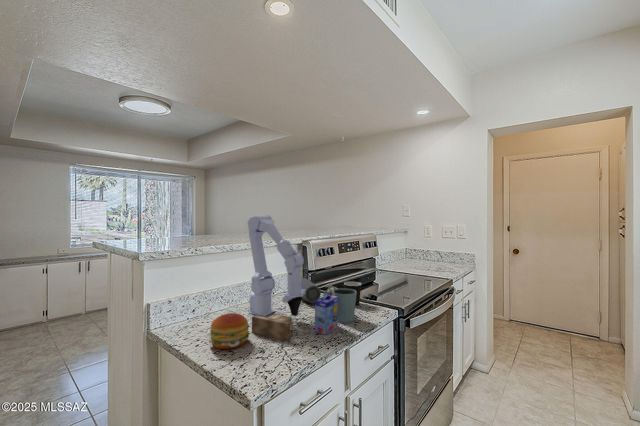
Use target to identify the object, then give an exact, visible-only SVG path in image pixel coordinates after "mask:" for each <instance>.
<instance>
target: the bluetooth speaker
mask: <svg viewBox="0 0 640 426" xmlns="http://www.w3.org/2000/svg"><path fill="white" fill-rule="evenodd" d="M301 289H305V294H304V295H303V296H302V298H303V300H302V301H305V302H306V303H307V302H308V303H315V301H316V300H317V299H319V298H321V295H322V293H321V289H320V288H319V286H318V285H316V284H315V283H314V282H312V281H311V280H309V279H308V278H305V277H303V276H301Z"/></svg>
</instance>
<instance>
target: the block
mask: <svg viewBox="0 0 640 426" xmlns="http://www.w3.org/2000/svg"><path fill="white" fill-rule="evenodd" d="M267 318H272V319H277V320H282V321H287V322H290V331H292V330H293V326H292V323H293V320H292V319H293V318H292V316H288V315H283V314H282V315H281V314H276V313H273V315H270V316H268V317H267Z"/></svg>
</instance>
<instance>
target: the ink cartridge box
mask: <svg viewBox="0 0 640 426" xmlns="http://www.w3.org/2000/svg"><path fill="white" fill-rule="evenodd" d="M329 294H330V295H329ZM329 294H328V295H325V296H323V295H322V297H320V298H319V299H317V300H316V301H315V302H314V332H315V333H319V334H322V335H325V336H326V335H328V334H330V333H331V332H332V331H334V330H335V329H336V328H337V327H338V326H339V322H338V297H337V296H333V295H331V294H332V292H331V293H329Z"/></svg>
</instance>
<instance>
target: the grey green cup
mask: <svg viewBox="0 0 640 426" xmlns="http://www.w3.org/2000/svg"><path fill="white" fill-rule="evenodd" d="M332 292H333V296H337V297H338V324H339V323H340V324H349V323H353V322H354V321H355V313H356V312H355V311H356V306H355V303H356V294H357V292H356V291H355V290H353V289H347V288H342V287H339V288H338V289H335V290H333V291H332Z"/></svg>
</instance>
